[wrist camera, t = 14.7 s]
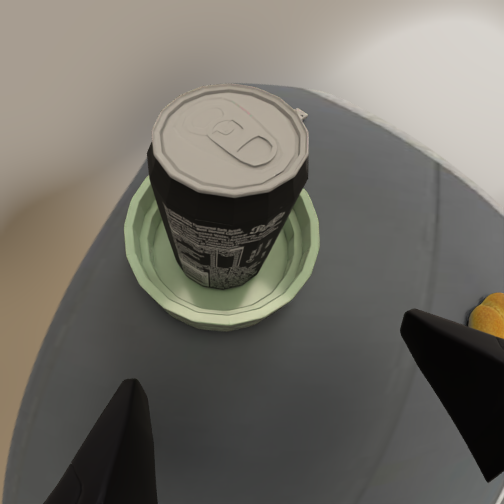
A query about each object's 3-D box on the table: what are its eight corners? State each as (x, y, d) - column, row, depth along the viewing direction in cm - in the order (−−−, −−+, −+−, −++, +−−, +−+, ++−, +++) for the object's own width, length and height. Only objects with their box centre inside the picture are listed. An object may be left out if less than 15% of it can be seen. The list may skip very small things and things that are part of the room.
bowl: (267, 357, 19) (281, 357, 15) (113, 287, 19) (90, 269, 15) (317, 215, 24) (337, 186, 20) (186, 162, 24) (183, 127, 20)
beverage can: (218, 192, 23) (228, 63, 11) (283, 246, 22) (349, 136, 10) (156, 249, 20) (107, 134, 9) (223, 312, 19) (238, 248, 8)
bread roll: (454, 323, 22) (483, 315, 18) (492, 287, 24) (516, 277, 20) (474, 391, 20) (502, 390, 16) (510, 347, 22) (534, 342, 18)
